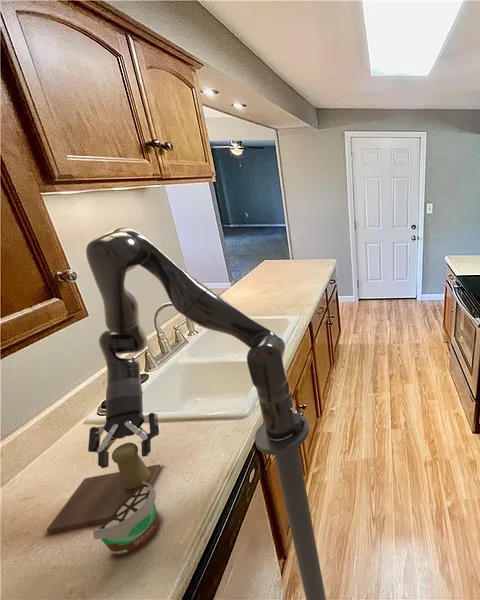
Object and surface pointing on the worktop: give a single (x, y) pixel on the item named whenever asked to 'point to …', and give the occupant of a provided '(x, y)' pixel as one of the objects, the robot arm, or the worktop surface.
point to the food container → (131, 523)
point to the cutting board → (96, 501)
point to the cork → (130, 465)
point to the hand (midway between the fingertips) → (125, 461)
